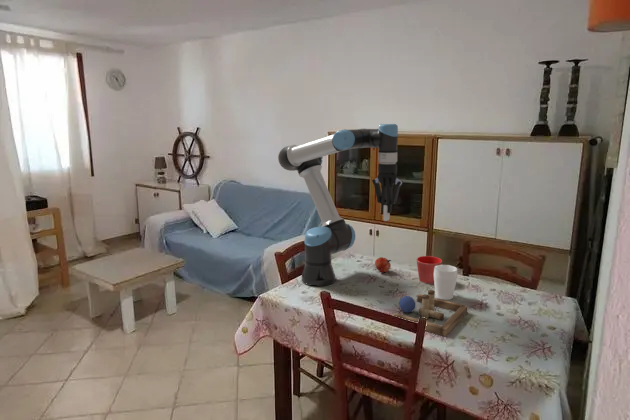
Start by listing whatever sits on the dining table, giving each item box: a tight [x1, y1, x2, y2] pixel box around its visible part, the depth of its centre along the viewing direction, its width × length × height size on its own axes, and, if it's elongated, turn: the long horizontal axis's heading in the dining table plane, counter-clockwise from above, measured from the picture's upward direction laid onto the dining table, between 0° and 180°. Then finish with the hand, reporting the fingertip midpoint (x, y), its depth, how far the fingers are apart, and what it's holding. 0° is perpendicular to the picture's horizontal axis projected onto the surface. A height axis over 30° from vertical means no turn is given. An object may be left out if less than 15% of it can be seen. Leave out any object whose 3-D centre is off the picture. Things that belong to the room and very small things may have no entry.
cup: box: [433, 264, 458, 301], centre depth 167 cm, size 9×9×12 cm
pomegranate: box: [374, 256, 392, 274], centre depth 196 cm, size 7×7×10 cm
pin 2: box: [427, 289, 436, 311], centre depth 153 cm, size 2×2×9 cm
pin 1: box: [421, 293, 429, 321], centre depth 149 cm, size 2×2×9 cm
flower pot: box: [416, 255, 443, 284], centre depth 184 cm, size 11×11×10 cm
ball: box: [398, 295, 417, 314], centre depth 155 cm, size 6×6×6 cm
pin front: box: [418, 306, 445, 321], centre depth 151 cm, size 2×2×9 cm
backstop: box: [392, 293, 468, 338], centre depth 151 cm, size 19×22×2 cm
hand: (386, 220), depth 173 cm, fingers closed
